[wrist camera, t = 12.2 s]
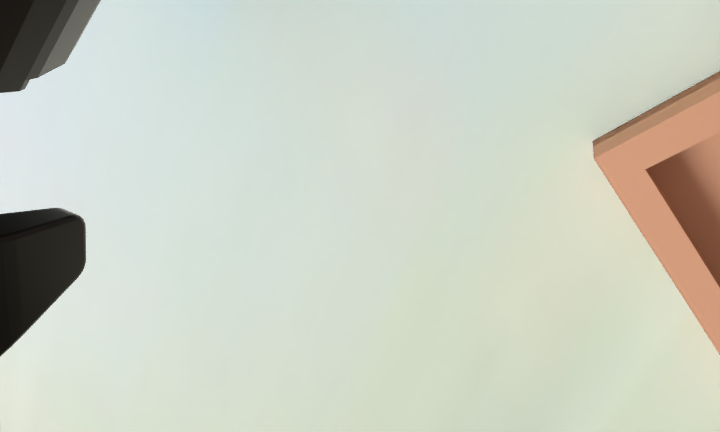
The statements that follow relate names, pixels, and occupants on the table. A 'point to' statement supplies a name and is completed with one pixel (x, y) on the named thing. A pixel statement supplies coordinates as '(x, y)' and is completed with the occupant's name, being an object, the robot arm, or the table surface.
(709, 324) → the tray
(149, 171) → the table surface
